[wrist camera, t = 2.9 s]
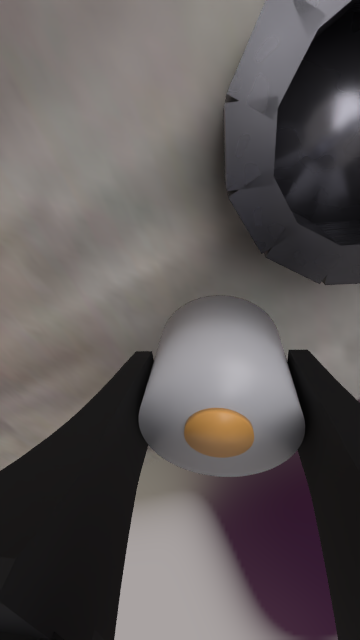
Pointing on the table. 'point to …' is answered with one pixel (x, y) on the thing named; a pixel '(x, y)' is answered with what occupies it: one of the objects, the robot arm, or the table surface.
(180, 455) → the boiled egg half
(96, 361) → the table surface
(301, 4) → the dark grey round ring
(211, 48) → the table surface
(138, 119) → the table surface
